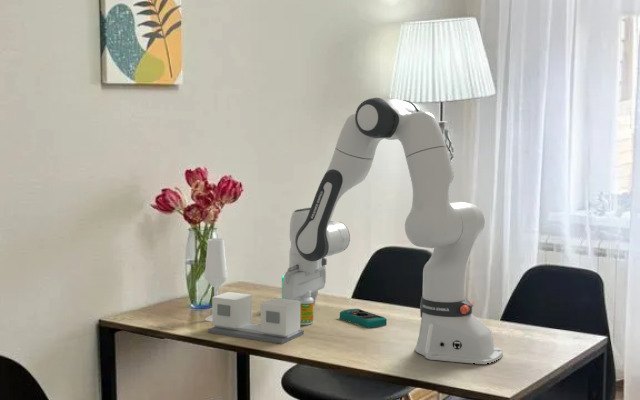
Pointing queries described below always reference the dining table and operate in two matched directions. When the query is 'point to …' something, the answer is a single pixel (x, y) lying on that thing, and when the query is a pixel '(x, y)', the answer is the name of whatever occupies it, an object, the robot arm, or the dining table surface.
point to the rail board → (237, 316)
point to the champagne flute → (215, 265)
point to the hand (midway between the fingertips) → (303, 308)
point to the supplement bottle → (306, 309)
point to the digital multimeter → (363, 318)
